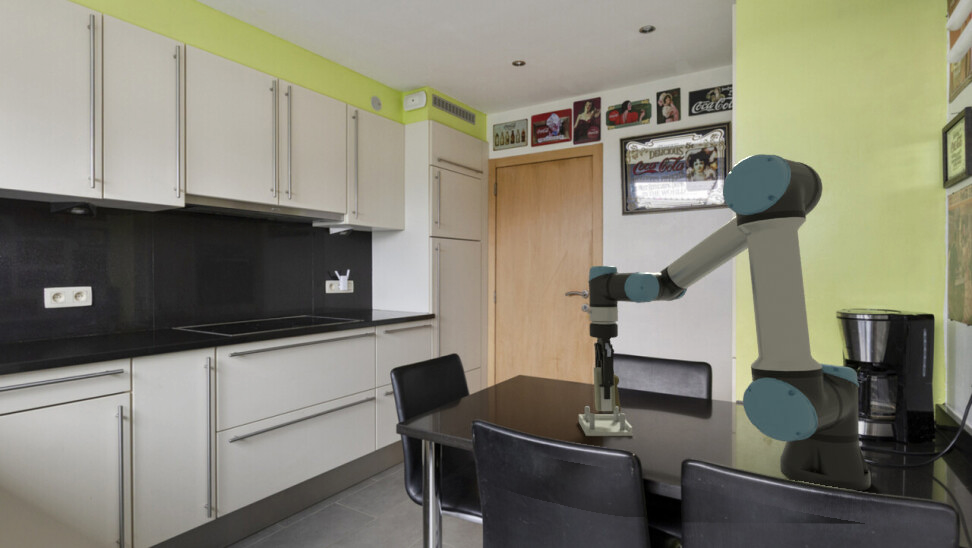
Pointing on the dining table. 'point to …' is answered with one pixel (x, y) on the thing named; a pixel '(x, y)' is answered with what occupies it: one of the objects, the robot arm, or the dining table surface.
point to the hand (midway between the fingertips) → (604, 408)
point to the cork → (616, 393)
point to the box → (598, 389)
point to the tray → (605, 424)
